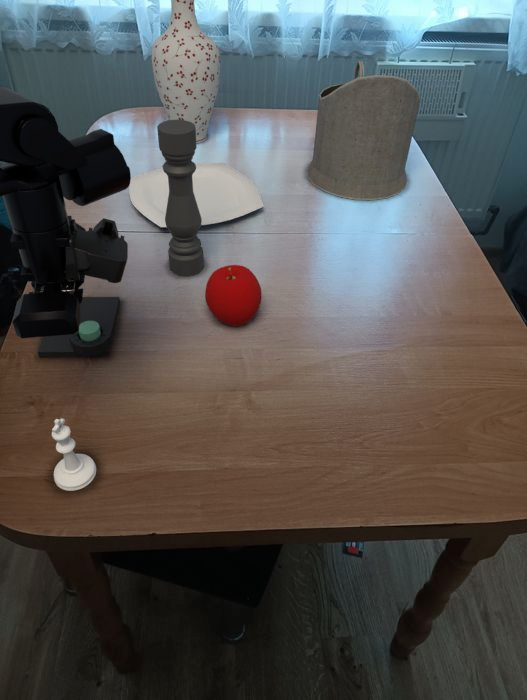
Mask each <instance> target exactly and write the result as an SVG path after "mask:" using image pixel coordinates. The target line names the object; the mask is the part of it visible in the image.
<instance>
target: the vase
mask: <svg viewBox="0 0 527 700" xmlns="http://www.w3.org/2000/svg"><path fill="white" fill-rule="evenodd" d="M170 2H171V3H170V5H171V6H170V7H171V13H170V14H171V15H170V20H169V24H168V26H167V28H166V30H165V31H164V32H163V33H162V34H160V35H159V36H158V37H157V38H156V39H155V40H154V42H153V44H152V46H151V61H150V62H151V67H152V73H153V79H154V85H155V88H156V89H155V90H156V91H157V95H158V96H159V99H160V102H161V104H162V107H163V109H164V112H165V115H166V117H167V121H168V120H185V121H189V122H191V123H193V124H194V125H195V127H196V145H198V144H201V143H203V142H205V141H206V140H207V138H208V136H207V134H208V129H209V126H210V121H211V118H212V115H213V111H214V107H215V103H216V99H217V96H218V93H219V88H220V77H221V76H220V75H221V57H220V49H219V48H218V45H217V44H216V42H215V40H214V39H213V38H212V37H210V35H208V34H206V33H205V32H204V31H203V30H202V29H201V28H200V25H199V23H198V20H197V16H196V9H195V8H196V7H195V0H170Z"/></svg>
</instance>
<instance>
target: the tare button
mask: <svg viewBox="0 0 527 700" xmlns="http://www.w3.org/2000/svg"><path fill="white" fill-rule="evenodd" d="M79 335H80V338H81V339H82V340H83V341H93V340H96V339H98V338H99V337H100V335H101V331H100V326H99V324H98V323H97V322H95V321H85V322H83V323H81V324H80V325H79Z"/></svg>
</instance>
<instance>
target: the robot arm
mask: <svg viewBox="0 0 527 700" xmlns="http://www.w3.org/2000/svg"><path fill="white" fill-rule="evenodd" d="M0 162H2V163H7V164H5V165H2V166H0V197H2V200H3V202H4V207H5V210H6V213H7V216H8V219H9V222H10V226H11V230H12V234H11V237H10V241H9V243H10V246H11V249H12V251H13V250H18V252H19V255H20V259H21V262H22V267H21V269H20V278H21V281H22V283H27V282H30V286H31V287H32V289H33V291H29V292H28V293H23V294H22V295H21V296H20V298H19V299H18V300H17V301H16V305H15V309H14V311H13V312H14V313H13V317H12V320H11V323H12V325H13V329H14V331H15V334H16V336H17V337H19V338H20V339H29V338H30V339H32V338H43V337H45V336H58V335H71V334H74V333H76V332H77V331H79V324H80V304H81V302H82V298H83V297H84V288H80V287H81V286H82V285H83V284H84V283H85V278H86V277H89V278H90V277H91V278H96V279H99V280H100V279H101V280H104V281H107V282H108V283H112V284H119V283H121V282H122V279H123V276H124V272H125V268H126V265H127V263H128V258H129V257H128V255H129V254H128V253H129V251H128V249H129V245H128V242H127V241H126V240H125V236H124V235H120V236H119V234H120V233H119V230H118V227H117V223H116V221H115V220H112V219H108V218H102V219H101V220H100V221H98V223H96V224H95V225H94V226H93V227H88V231H87V229H86V228H84V227H83V226H82V225H80V224H79V223H77V221H76V219H74V218H73V217H72V215H68V211H67V207H66V206H67V205H66V202H65V199H66V200H68V201H72V202H73V203H74V204H76V205H77V206H80V207H85V206H88V205H90V204H93V203H95V202H99V201H100V200H102V199H105V198H108V197H110V196H113V195H115V194H118V193H120V192H124V191H126V190H127V189H129V185H130V180H131V178H132V177H131V169H130V167H129V166H128V163H127V162H126V159H125V156H124V154H123V153H122V151H121V150H120V148H118V146H117V144H115V137H114V134H113V133H111V132H109V131H107V130H104V129H103V128H99V129H95V130H93V131H90V132H89V133H88V134H85V135H83V136H79V137H76V138H72V139H70V140H68V139H67V137H66V136H64V135H63V134H62V133H61V131H59V125H58V123H57V119H56V117H55V115H54V114H53V113H52V111H51V110H50V108H49V107H48V106H46V105H44V104H42V103H40V102H38V101H36V100H34V99H32V98H29V97H28V96H25V95H23V94H21V93H19V92H16V91H14V90H12V89H10V88H7V87H4V86H1V85H0Z"/></svg>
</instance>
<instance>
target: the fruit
mask: <svg viewBox="0 0 527 700" xmlns="http://www.w3.org/2000/svg"><path fill="white" fill-rule="evenodd" d="M262 297H263V296H262V287H261V284H260V281H259V280H258V278H257V277H256V275H255V274H254V273H253V271H251V270H250V268H248V267H246V266H244V265H240V264H231V265H230V264H229V265H224V266H222V267H221V266H220V267H219V268H217V269H215V270H214V271H213V272H212V273H211V274H210V276H209V277H208V280H207V282H206V285H205V292H204V298H205V304H206V306H207V308H208V310H209V311H210V313H211V314H212V315H213V317H215V318H216V319H217V320H218V321H220V322H221V323H223V324H226V325H228V326H232V327H236V326H237V327H238V326H242V325H245V324H246V323H248V322H249V321H251V320H253V318H254V317H255V316H256V315H257V313H258V312H259V310H260V307H261V304H262Z"/></svg>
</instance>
